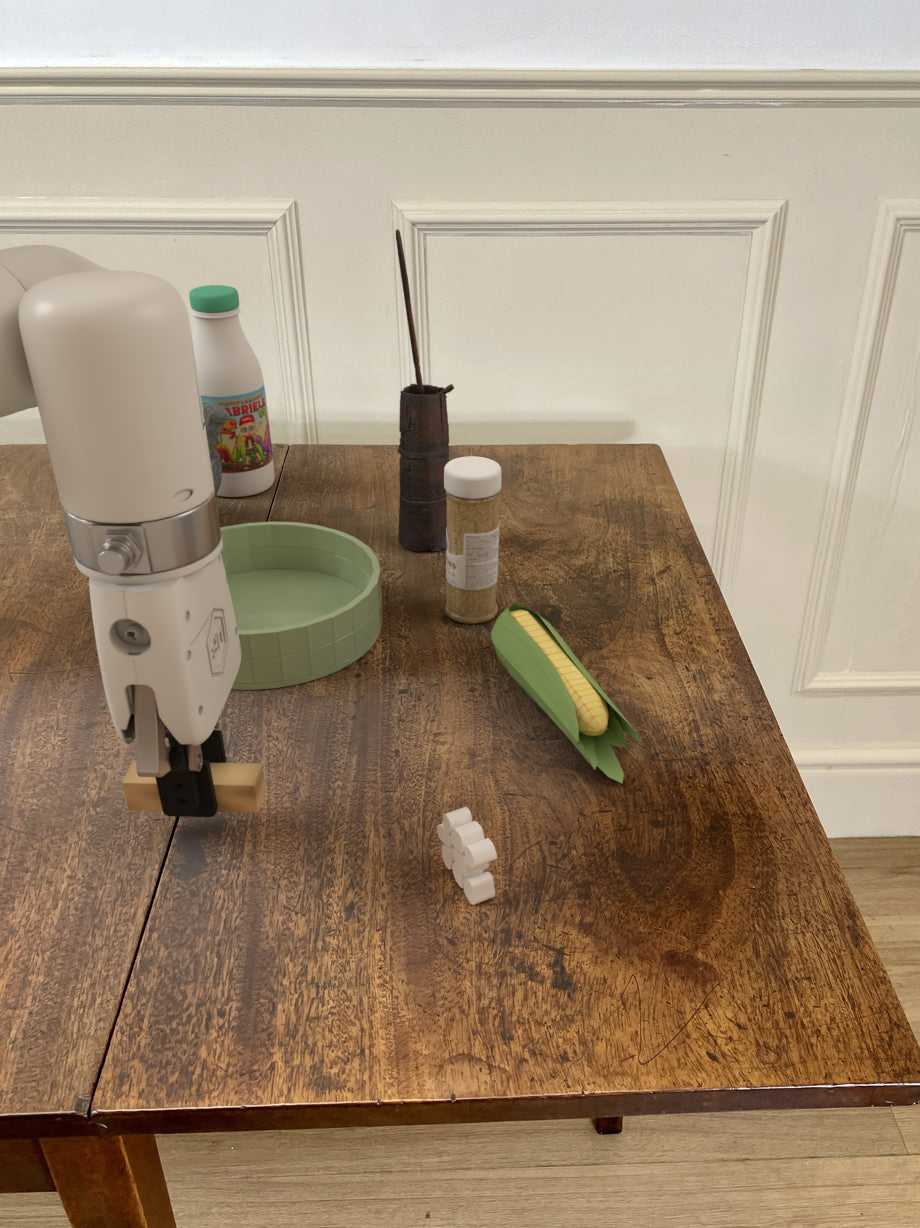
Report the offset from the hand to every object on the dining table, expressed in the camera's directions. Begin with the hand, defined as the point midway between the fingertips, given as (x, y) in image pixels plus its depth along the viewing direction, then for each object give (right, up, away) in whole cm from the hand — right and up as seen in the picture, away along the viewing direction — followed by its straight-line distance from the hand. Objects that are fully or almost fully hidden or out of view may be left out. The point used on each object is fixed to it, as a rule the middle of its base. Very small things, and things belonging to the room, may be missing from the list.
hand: (197, 796), depth 64 cm
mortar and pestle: (-13, +23, +38) cm, 46 cm away
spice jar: (+16, +13, +25) cm, 32 cm away
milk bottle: (-10, +28, +46) cm, 55 cm away
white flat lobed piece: (+17, -5, -2) cm, 18 cm away
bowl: (-1, +12, +22) cm, 25 cm away
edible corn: (+23, +5, +13) cm, 27 cm away
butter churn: (+12, +21, +37) cm, 44 cm away
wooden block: (0, 0, 0) cm, 0 cm away
